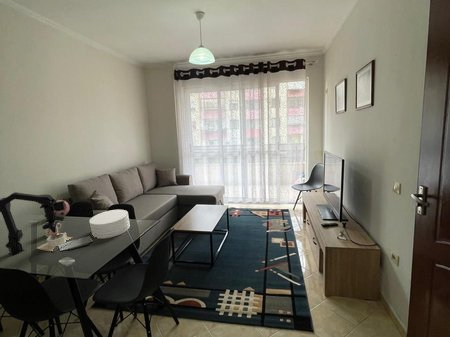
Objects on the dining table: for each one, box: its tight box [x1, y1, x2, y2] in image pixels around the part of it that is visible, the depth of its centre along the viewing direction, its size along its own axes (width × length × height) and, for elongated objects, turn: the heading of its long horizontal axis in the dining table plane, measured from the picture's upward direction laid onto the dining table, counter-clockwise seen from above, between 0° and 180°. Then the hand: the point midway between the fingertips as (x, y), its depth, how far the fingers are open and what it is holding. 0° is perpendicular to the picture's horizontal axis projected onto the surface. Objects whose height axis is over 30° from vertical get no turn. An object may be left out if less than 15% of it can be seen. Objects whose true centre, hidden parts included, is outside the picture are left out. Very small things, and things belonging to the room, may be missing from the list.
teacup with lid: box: [43, 222, 62, 238], centre depth 204 cm, size 12×9×12 cm
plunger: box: [51, 232, 60, 239], centre depth 186 cm, size 8×8×6 cm
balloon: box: [54, 199, 70, 215], centre depth 239 cm, size 15×20×15 cm
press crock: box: [36, 232, 72, 252], centre depth 187 cm, size 18×18×6 cm
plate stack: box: [88, 209, 131, 239], centre depth 203 cm, size 28×28×12 cm
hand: (54, 232), depth 185 cm, fingers closed
